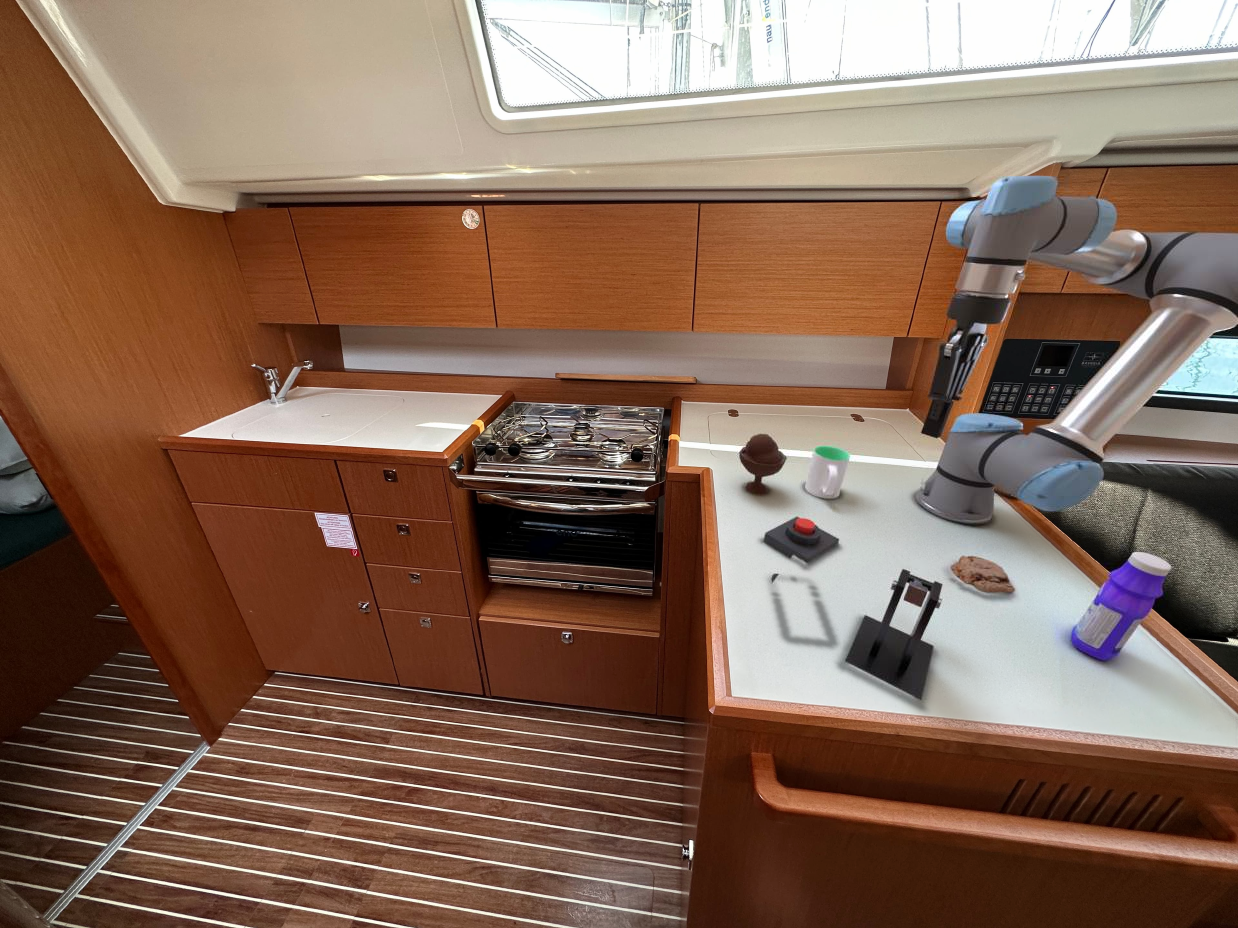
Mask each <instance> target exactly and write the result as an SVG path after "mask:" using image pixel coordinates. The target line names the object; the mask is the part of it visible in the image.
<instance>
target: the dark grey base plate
mask: <svg viewBox="0 0 1238 928" xmlns="http://www.w3.org/2000/svg"><path fill="white" fill-rule="evenodd" d="M799 518H800V517H799V516H795V517H793V518H791V519H789V520H787V521H786V522H783V523H780V524H779V525H778V526H776V527H774V528H772V529H770V530H768V531H766V532H765V533H764V537H763V542H764V543H766V544H767V545H769V546H770V547H772V548H774V549H775V550H776V551H777V552H779V553H782V554H783V555H784V556H786V557H788V558H790V559H792V558H793V556H795V557H797V558H798V559H800V560H801V561H803V562H805V563H809V562H810V561H812V560H814V559H816V558H817V557H818V556H820V555H822V554H824V553H825V552H827V551H828V550H830V549H831V548H834V547H835V546H836V545H838V544H839V542H840V538H838V537H836V536H834V535H832V534H831V533H830V532H827V531H825V530H823V529H822V528H820V527H819V526H818V525H817V524H815V527H814V531H813V534H811V535H805V534H801V533H799V532H797V531H796V530H795V529H794V528H795V524H796V520H797V519H799Z"/></svg>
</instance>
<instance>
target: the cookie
mask: <svg viewBox="0 0 1238 928" xmlns="http://www.w3.org/2000/svg"><path fill="white" fill-rule="evenodd" d="M950 570H951V572H952V574H954V576H955V577H957V578H958V579H959V580H960V581H962V582H963V583H964V584H965V585H972V586H973V587H974V589H976V590H979V591H981V592H984V593H993V594H994V593H1007V594H1012V593H1013V592H1014V591H1015V589H1016V588H1015V587H1014V585H1012V584H1011V583H1009V582H1010V578H1009V576H1008V574H1007V573H1006V571H1005V570H1004V568H1003V567H1002V566H1000V565H999V564H998V563H996V562H994V561H991V560H988V559H986V558H983V557H979V556H975V555H967V556H965V555H962V556H960V557H959V558H958V561H955V562H954V564H951V565H950Z"/></svg>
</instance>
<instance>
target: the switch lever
mask: <svg viewBox="0 0 1238 928" xmlns="http://www.w3.org/2000/svg"><path fill="white" fill-rule="evenodd" d="M901 572H902V570H901V571H900V573H899V576H898V578H899V577H900V574H901ZM933 583H934V582H932V581H930V580H927V579H924V578H922V577H919V576H916V575H914V574H911V573H910V574H909V577H908V580H907V583H906V584H908V585H907V588H906V590H905V593H904V596H903V601H905V602H906V603H909V604H912V605H914V606H916V607H919V608H923V605H924V603H925V600H926V598H927V594H928V592H930V590H931V588H932V585H933Z"/></svg>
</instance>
